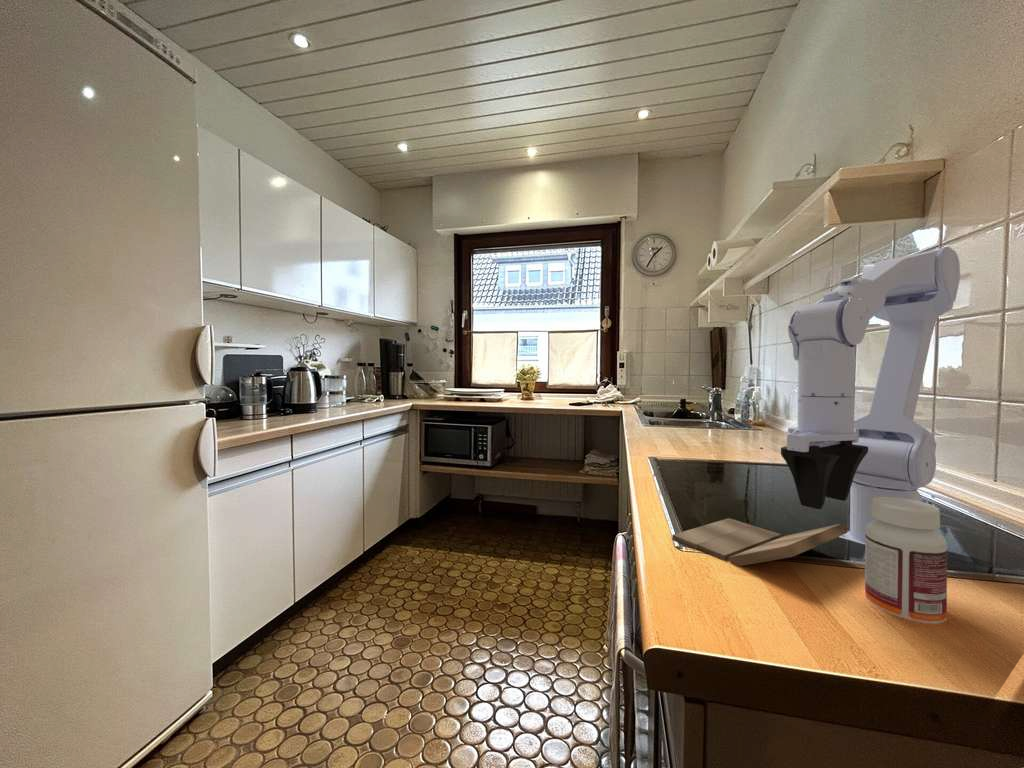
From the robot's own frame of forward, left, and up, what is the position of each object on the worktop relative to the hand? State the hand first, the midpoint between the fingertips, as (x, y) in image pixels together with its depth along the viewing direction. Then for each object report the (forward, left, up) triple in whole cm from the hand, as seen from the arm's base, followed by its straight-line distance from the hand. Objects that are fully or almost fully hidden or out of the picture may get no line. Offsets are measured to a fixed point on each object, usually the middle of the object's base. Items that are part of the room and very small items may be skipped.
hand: (824, 502), depth 52 cm
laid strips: (+3, -11, -8) cm, 14 cm away
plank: (+3, -2, -6) cm, 7 cm away
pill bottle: (+4, +9, -9) cm, 13 cm away
